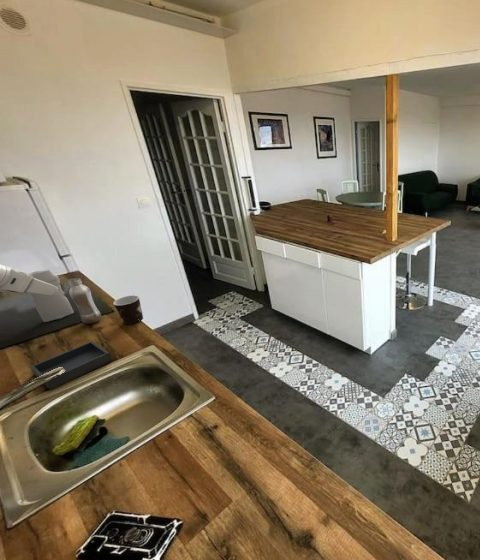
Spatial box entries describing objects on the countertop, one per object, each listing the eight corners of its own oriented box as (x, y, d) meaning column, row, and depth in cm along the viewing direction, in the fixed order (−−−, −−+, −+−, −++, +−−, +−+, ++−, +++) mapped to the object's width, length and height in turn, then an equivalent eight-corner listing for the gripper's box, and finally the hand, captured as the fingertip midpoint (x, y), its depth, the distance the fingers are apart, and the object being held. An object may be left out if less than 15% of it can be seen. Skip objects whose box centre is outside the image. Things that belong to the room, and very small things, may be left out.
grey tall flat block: (73, 310, 141) (52, 266, 132) (76, 313, 139) (54, 268, 130) (40, 320, 133) (15, 274, 124) (43, 323, 131) (18, 277, 122)
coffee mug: (134, 314, 140) (126, 294, 135) (151, 315, 139) (144, 296, 134) (109, 328, 129) (100, 308, 125) (127, 330, 128) (119, 309, 124)
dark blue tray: (50, 390, 98) (45, 381, 97) (34, 374, 104) (29, 366, 103) (112, 360, 111) (109, 352, 110) (95, 348, 117) (92, 340, 116)
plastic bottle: (102, 315, 138) (84, 275, 129) (104, 321, 133) (85, 280, 125) (82, 321, 134) (62, 279, 125) (83, 327, 129) (63, 285, 121)
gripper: (-17, 283, 109) (32, 295, 121) (20, 292, 103) (67, 304, 116) (-7, 267, 111) (41, 280, 123) (30, 275, 105) (76, 288, 118)
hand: (54, 292), depth 120 cm, fingers open, 8 cm apart
